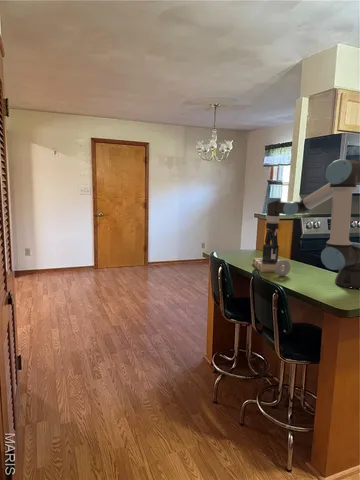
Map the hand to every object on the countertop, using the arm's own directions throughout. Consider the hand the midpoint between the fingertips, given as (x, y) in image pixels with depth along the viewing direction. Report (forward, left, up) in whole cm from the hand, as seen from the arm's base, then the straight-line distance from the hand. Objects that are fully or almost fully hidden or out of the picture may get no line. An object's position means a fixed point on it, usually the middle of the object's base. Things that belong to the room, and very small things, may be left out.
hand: (270, 256), depth 204 cm
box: (0, 0, -3) cm, 3 cm away
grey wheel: (-18, -2, -8) cm, 20 cm away
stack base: (0, 0, -7) cm, 7 cm away
